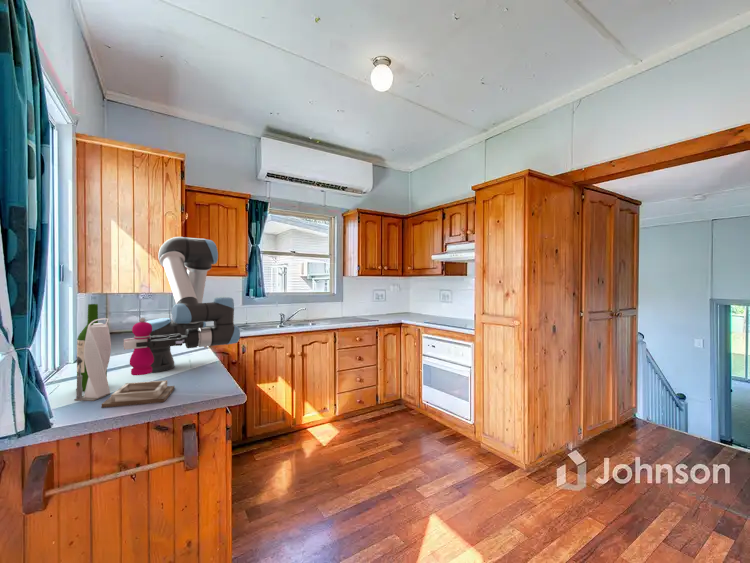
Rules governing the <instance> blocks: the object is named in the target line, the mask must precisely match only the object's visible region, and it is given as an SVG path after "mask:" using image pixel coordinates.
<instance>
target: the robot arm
mask: <svg viewBox="0 0 750 563" xmlns="http://www.w3.org/2000/svg"><path fill="white" fill-rule="evenodd" d="M157 255H158V256H157V257H158V258H157V259H158V261H159V265H161V267H163V268H164V271H165V275H166V278H167V280H168V283H169V287H170V290H171V293H172V295H173V298H174V302H175V303H174V305H173V306H172V309H171V316H172V317H171V318H172V319H171V318H169V317H163V318H162V317H161V318H155V319H149V320H147V321H146V320H145V322H148V323H150V324H151V325H152V332H151V333H150V334H149V335H151V336H150V338H151V339H150V338H148V342H147V340H134V337H132V338H131V337H130V338H123V350H134V349H136V348H146V347H149V348H150V350H151V352H152V354H153V357H154V362H153V363H152V365H151V367H152V372H151V373H160V372H164V371H169V370H171V369H174V368H175V360H174V357H173V355H172V351H171V347H177V346H179V347H181V346H183V344H185V347H186V349H194V348H198V347H199V348H204V349H207V347H214V346H225V345H233V344H237V343H238V342H239V340H240V337H241V332H240V331H241V330H240V327H239V326H238V325H235V323H234V321H235V319H234V318H235V317H234V315H235V303H234V299H233V298H232V297H225V296H223V297H222V296H221V297H215V298H214V299H213V302H203V301H204V300H203V299H204V292H205V287H206V281H207V276H208V275H207V274H208V272H209V271H210V270H212V267H213V266H212V265H215V264H217V262H218V261H219V260H218V259H219V252H218V247H217V245H216V243H215V242H214V241H213V240H212V239H206V238H201V237H200V238H199V237H198V238H197V237H186V236H185V237H183V236H174V237H171V238H169V239H167V240H165V242H163V243H162V244H161V246H160V247H159V251H158V254H157ZM207 322H213V326H211V327H207Z"/></svg>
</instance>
